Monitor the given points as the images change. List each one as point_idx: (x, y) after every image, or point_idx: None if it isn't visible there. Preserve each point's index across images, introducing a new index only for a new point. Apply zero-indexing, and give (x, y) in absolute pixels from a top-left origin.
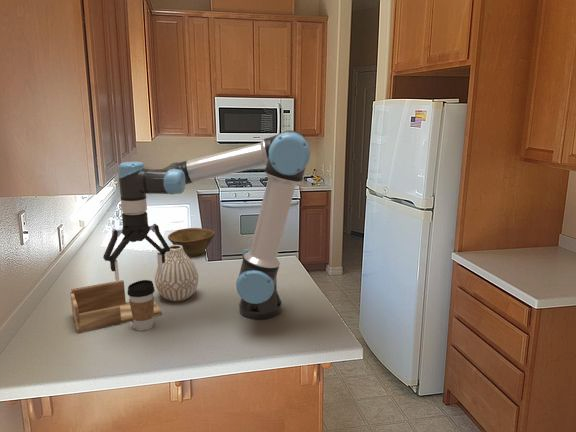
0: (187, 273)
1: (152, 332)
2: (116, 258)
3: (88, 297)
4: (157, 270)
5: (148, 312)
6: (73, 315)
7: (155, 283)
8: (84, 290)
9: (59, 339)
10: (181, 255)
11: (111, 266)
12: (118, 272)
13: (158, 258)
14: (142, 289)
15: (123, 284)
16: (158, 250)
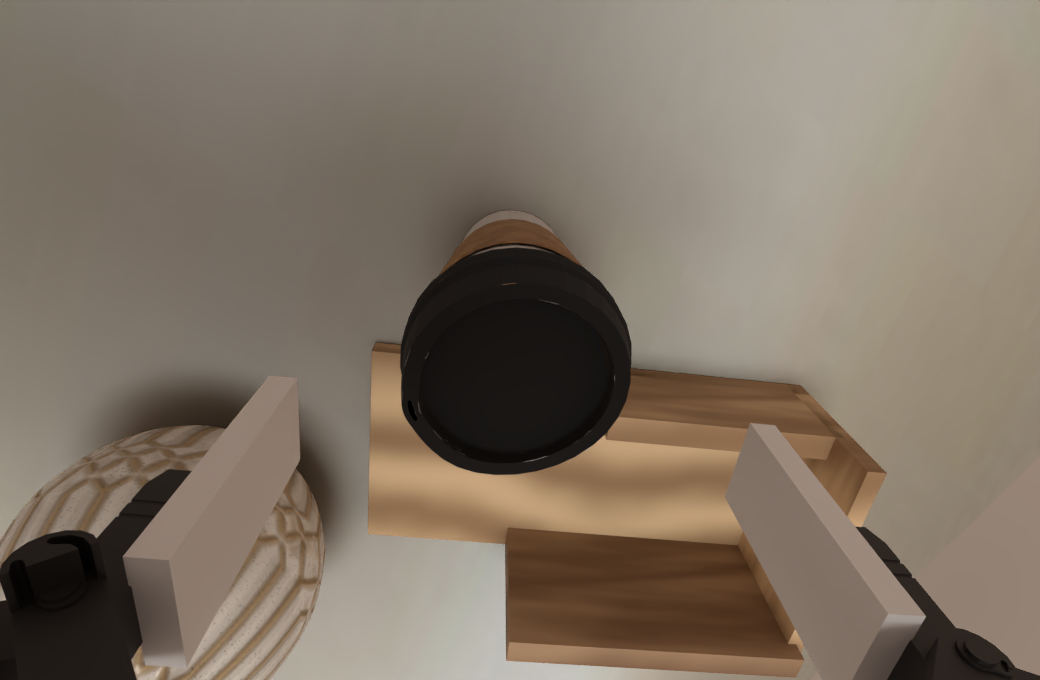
0: (59, 527)
1: (496, 162)
2: (933, 672)
3: (701, 602)
4: (270, 659)
5: (497, 227)
6: None
7: (320, 584)
8: (733, 643)
9: (887, 375)
10: None
11: (914, 582)
12: (800, 488)
13: (217, 550)
14: (539, 285)
15: (512, 623)
16: (120, 652)
